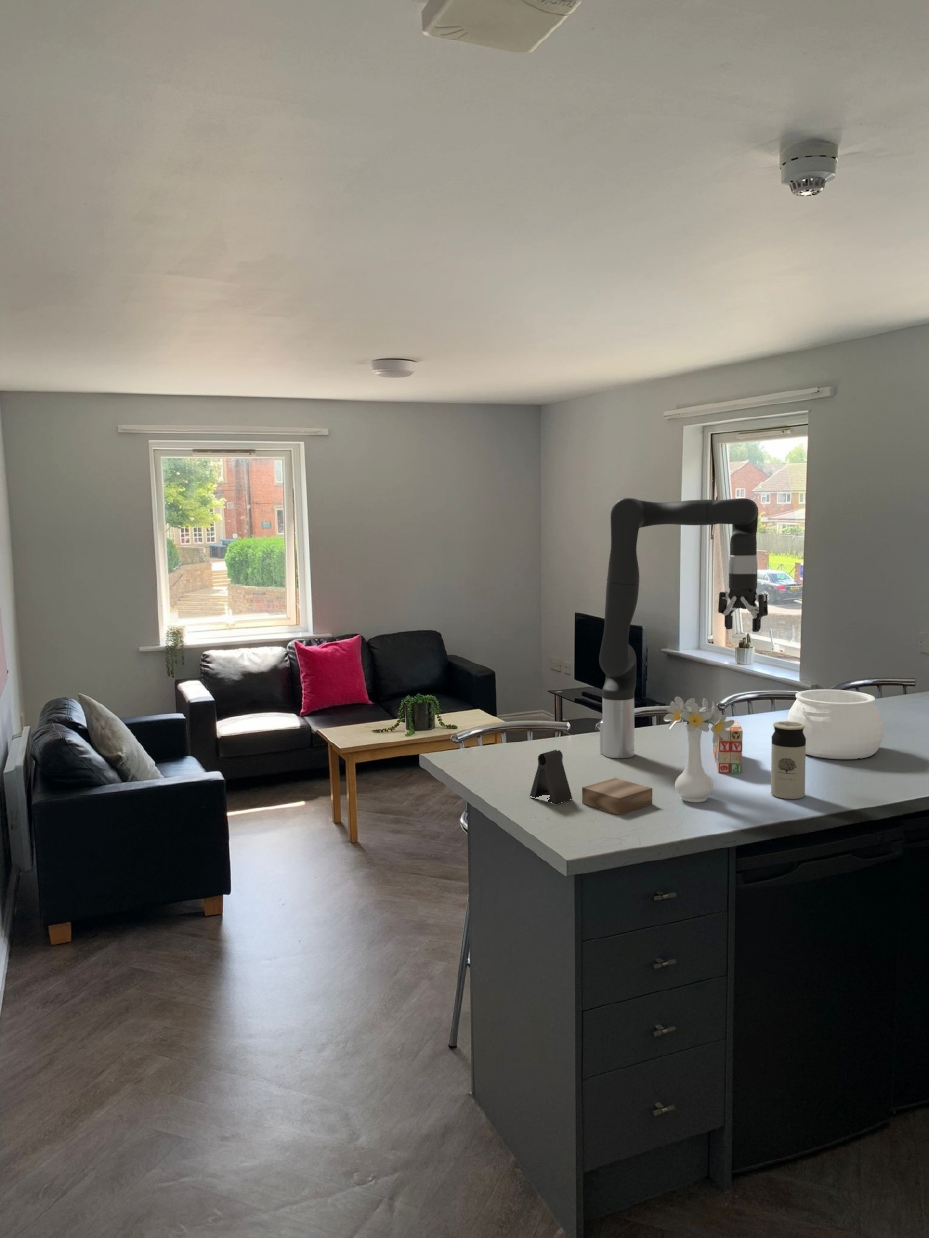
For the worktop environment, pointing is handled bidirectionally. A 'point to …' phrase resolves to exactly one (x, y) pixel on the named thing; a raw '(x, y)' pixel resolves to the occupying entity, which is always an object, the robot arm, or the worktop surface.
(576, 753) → the worktop surface
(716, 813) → the worktop surface
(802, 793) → the travel mug
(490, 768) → the worktop surface
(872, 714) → the pot
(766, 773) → the worktop surface
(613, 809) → the walnut base
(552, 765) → the door stopper
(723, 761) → the stack of blocks
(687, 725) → the flower vase
